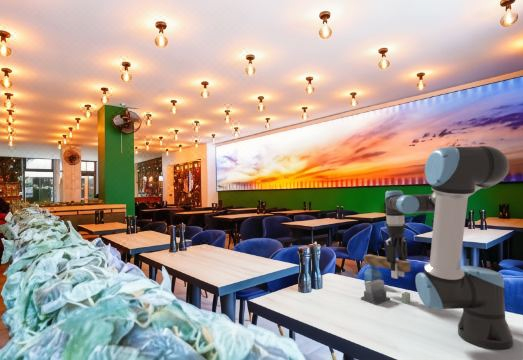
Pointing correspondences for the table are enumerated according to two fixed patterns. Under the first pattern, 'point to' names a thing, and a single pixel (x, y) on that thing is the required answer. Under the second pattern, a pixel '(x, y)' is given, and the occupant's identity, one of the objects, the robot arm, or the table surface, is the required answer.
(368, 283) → the fulcrum
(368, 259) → the batten
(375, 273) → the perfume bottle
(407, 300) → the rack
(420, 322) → the table surface
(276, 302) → the table surface
